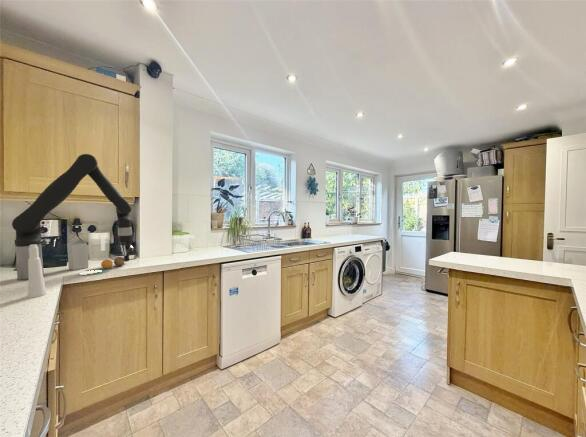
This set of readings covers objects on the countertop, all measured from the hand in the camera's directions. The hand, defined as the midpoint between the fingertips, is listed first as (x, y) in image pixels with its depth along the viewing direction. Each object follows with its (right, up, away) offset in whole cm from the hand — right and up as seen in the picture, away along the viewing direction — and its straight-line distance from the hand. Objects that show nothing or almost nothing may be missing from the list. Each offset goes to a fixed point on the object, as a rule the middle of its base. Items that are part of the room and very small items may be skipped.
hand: (126, 261), depth 160 cm
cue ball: (-1, +1, -6) cm, 6 cm away
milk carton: (-21, -3, -11) cm, 24 cm away
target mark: (-6, -3, -18) cm, 19 cm away
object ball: (-4, 0, -12) cm, 12 cm away
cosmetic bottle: (-4, -6, -51) cm, 52 cm away
